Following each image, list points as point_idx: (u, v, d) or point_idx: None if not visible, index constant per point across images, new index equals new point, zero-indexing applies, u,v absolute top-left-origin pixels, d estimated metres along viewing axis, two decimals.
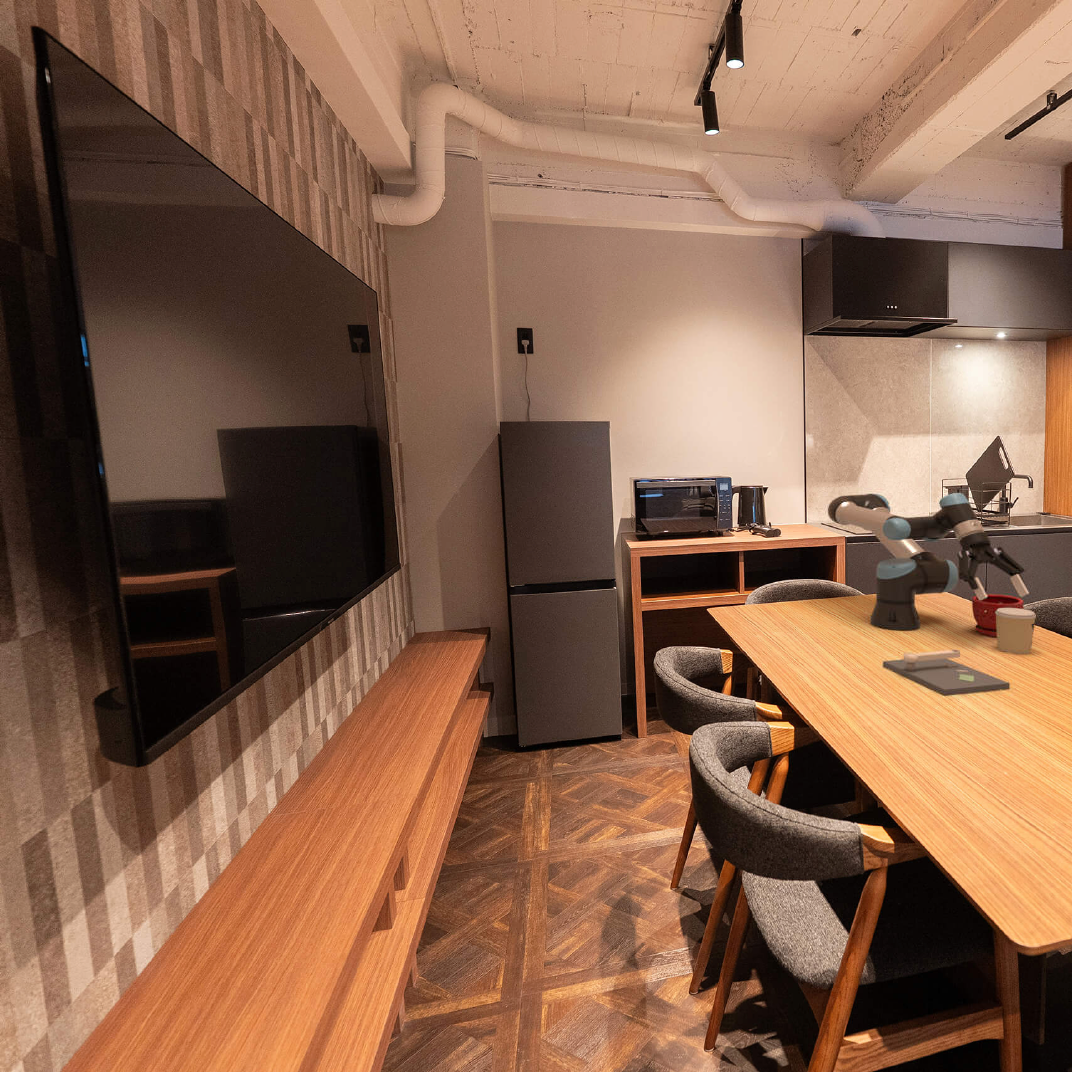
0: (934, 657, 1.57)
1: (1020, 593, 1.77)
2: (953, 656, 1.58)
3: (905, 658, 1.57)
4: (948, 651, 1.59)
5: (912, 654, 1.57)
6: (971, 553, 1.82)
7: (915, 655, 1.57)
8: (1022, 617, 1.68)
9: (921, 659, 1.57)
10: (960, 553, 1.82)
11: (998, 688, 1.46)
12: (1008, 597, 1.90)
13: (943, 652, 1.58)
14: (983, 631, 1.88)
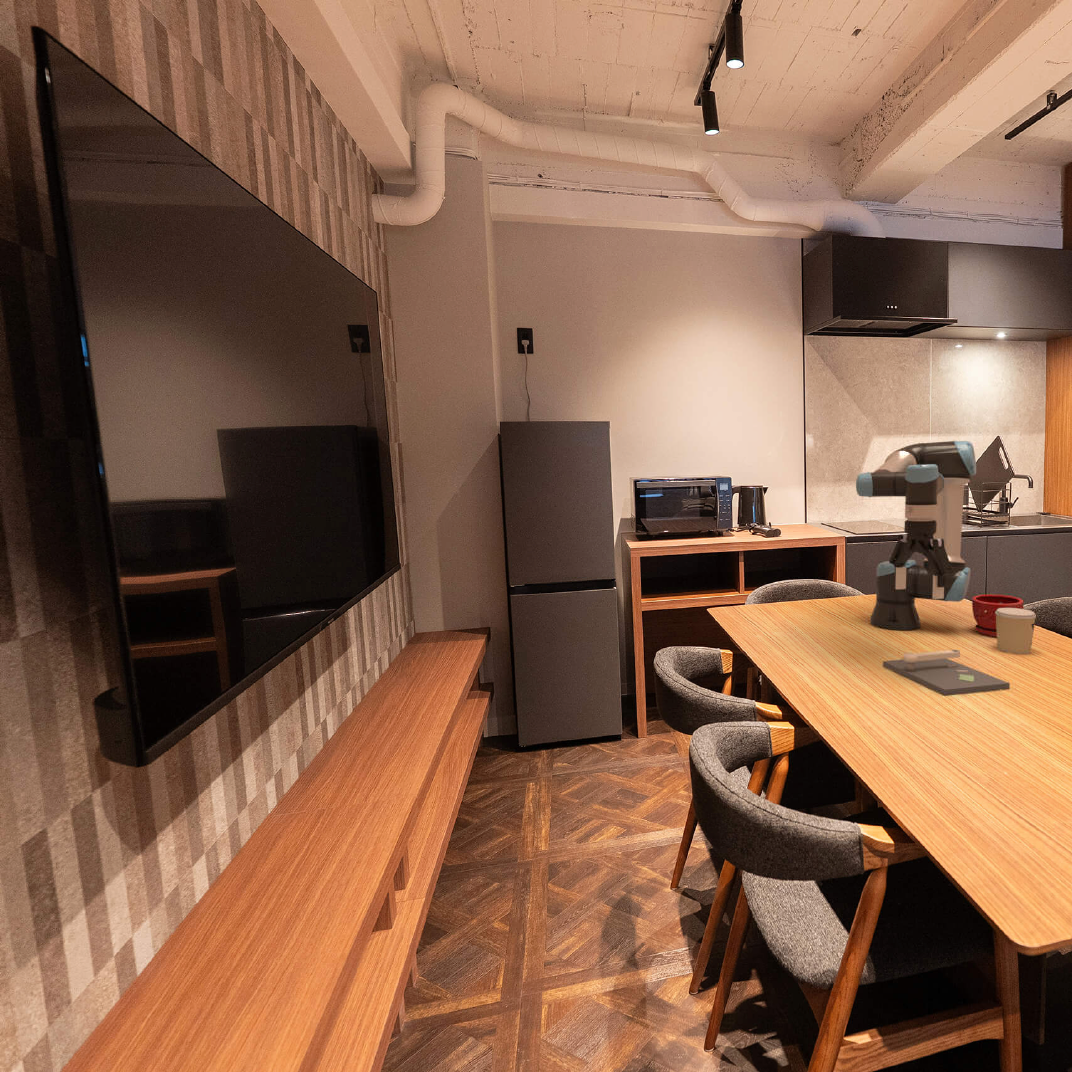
0: (934, 657, 1.57)
1: None
2: (953, 656, 1.58)
3: (905, 658, 1.57)
4: (948, 651, 1.59)
5: (912, 654, 1.57)
6: (906, 540, 1.65)
7: (915, 655, 1.57)
8: (1022, 617, 1.68)
9: (921, 659, 1.57)
10: None
11: (998, 688, 1.46)
12: (1008, 597, 1.90)
13: (943, 652, 1.58)
14: (983, 631, 1.88)
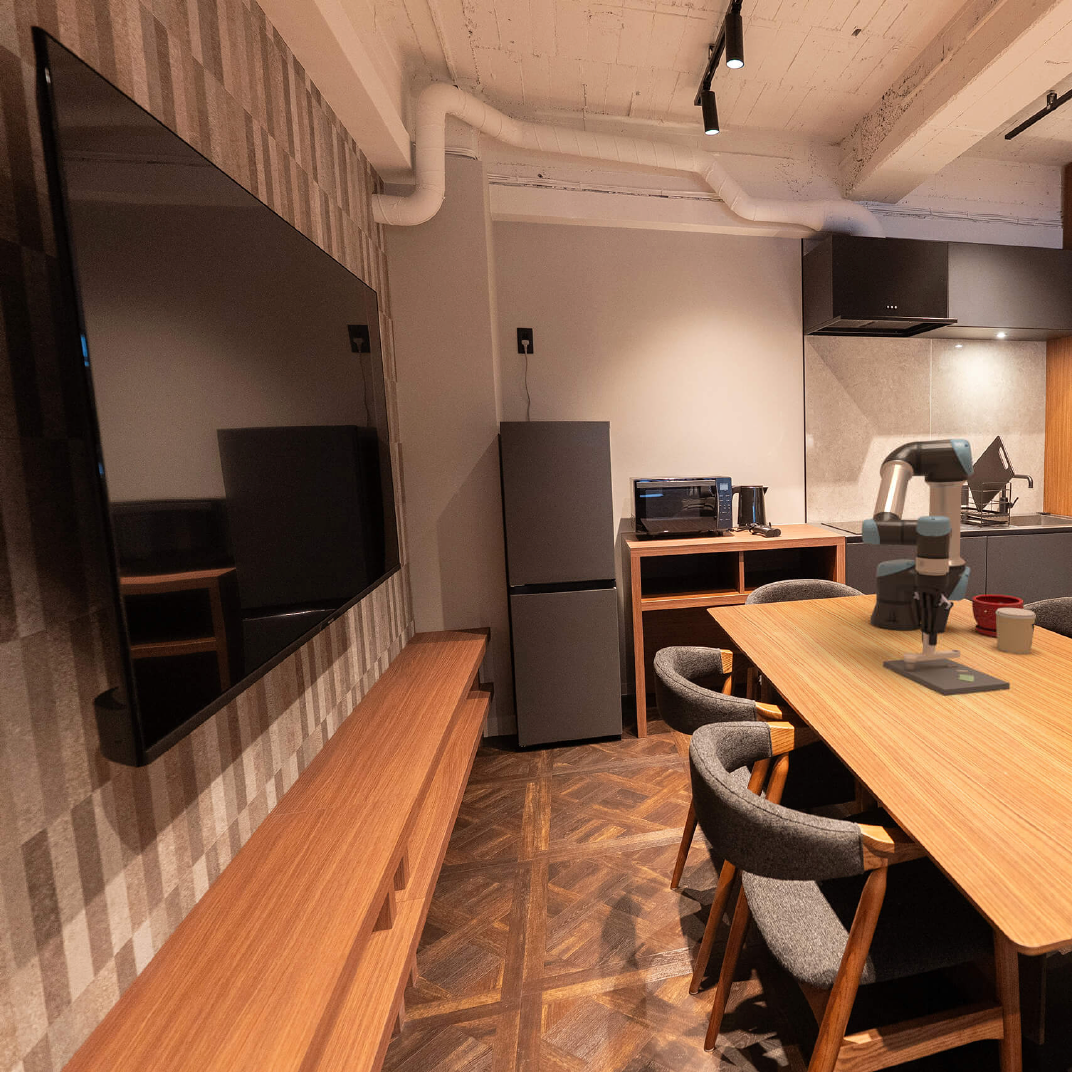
0: (935, 658, 1.57)
1: None
2: (953, 656, 1.58)
3: (905, 658, 1.57)
4: (948, 651, 1.59)
5: (912, 654, 1.57)
6: (918, 593, 1.61)
7: (915, 655, 1.57)
8: (1022, 617, 1.68)
9: (921, 659, 1.57)
10: None
11: (998, 688, 1.46)
12: (1008, 597, 1.90)
13: (943, 652, 1.58)
14: (983, 631, 1.88)
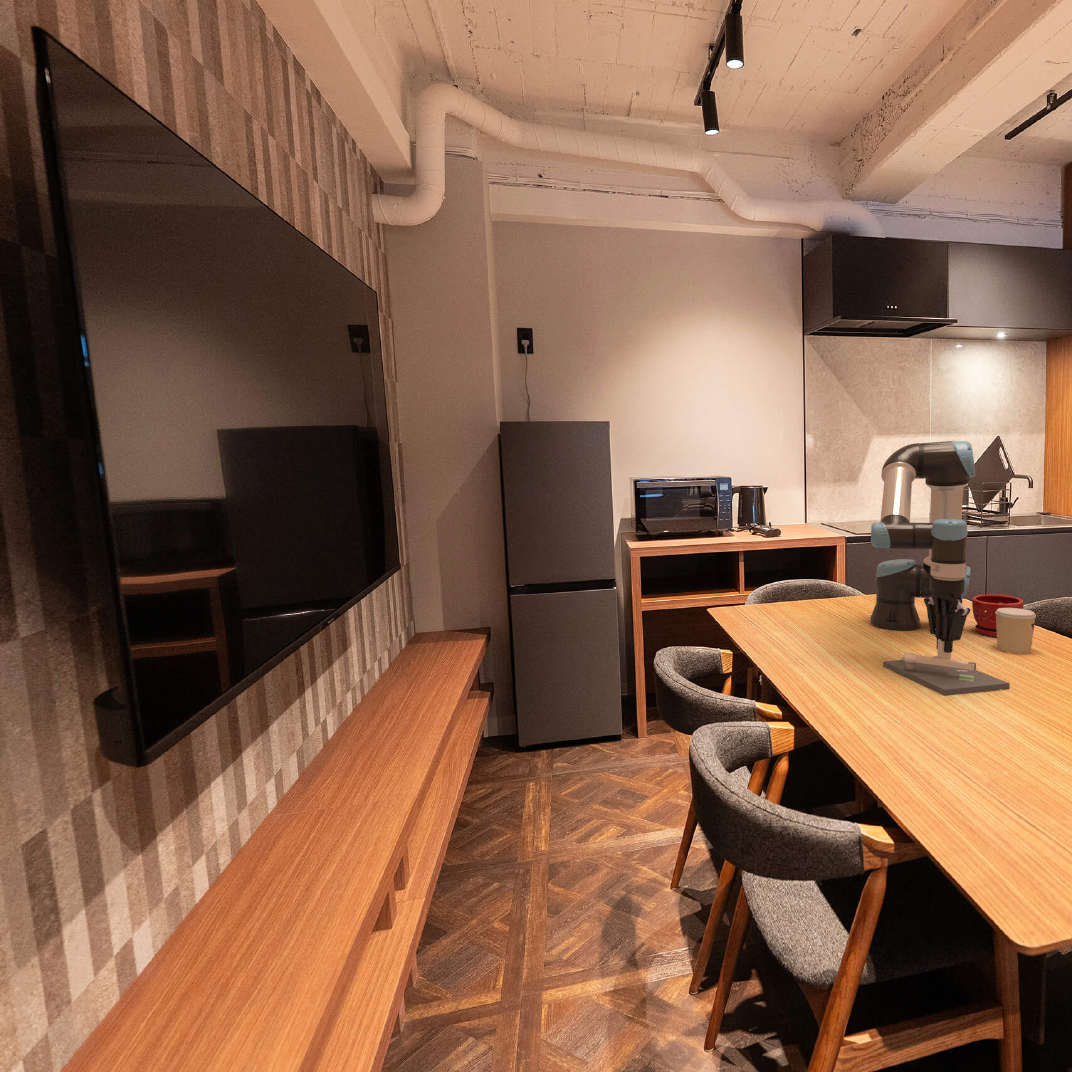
0: (938, 663, 1.53)
1: None
2: (964, 667, 1.49)
3: None
4: (962, 661, 1.50)
5: (913, 654, 1.57)
6: (933, 599, 1.56)
7: (913, 656, 1.56)
8: (1022, 617, 1.68)
9: (920, 661, 1.55)
10: None
11: (998, 688, 1.46)
12: (1008, 597, 1.90)
13: (953, 661, 1.51)
14: (983, 631, 1.88)
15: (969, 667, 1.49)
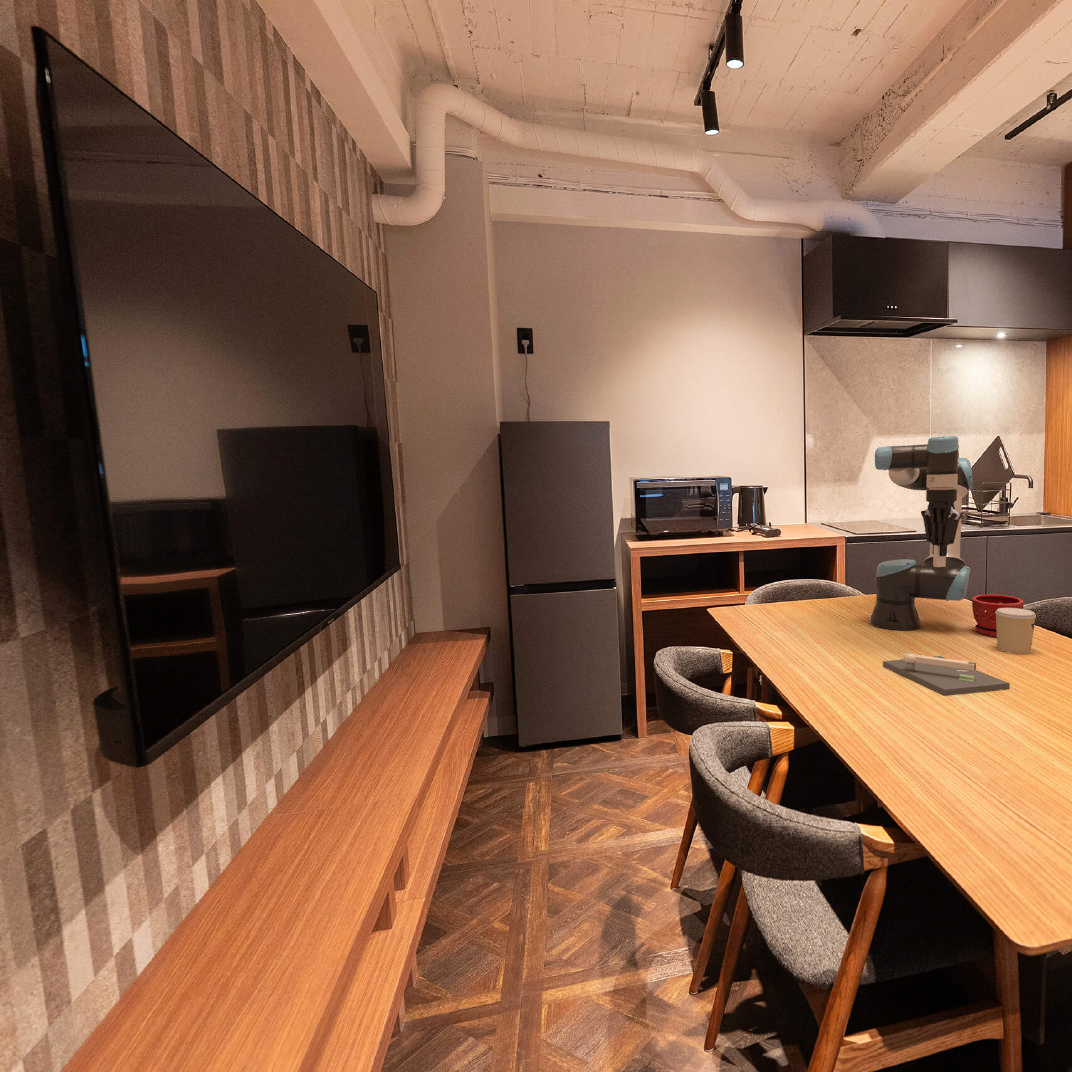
0: (938, 663, 1.53)
1: None
2: (964, 667, 1.49)
3: None
4: (962, 661, 1.50)
5: (913, 655, 1.57)
6: (929, 510, 1.74)
7: (913, 656, 1.56)
8: (1022, 617, 1.68)
9: (920, 661, 1.55)
10: None
11: (998, 688, 1.46)
12: (1008, 597, 1.90)
13: (953, 661, 1.51)
14: (983, 631, 1.88)
15: (969, 667, 1.49)
